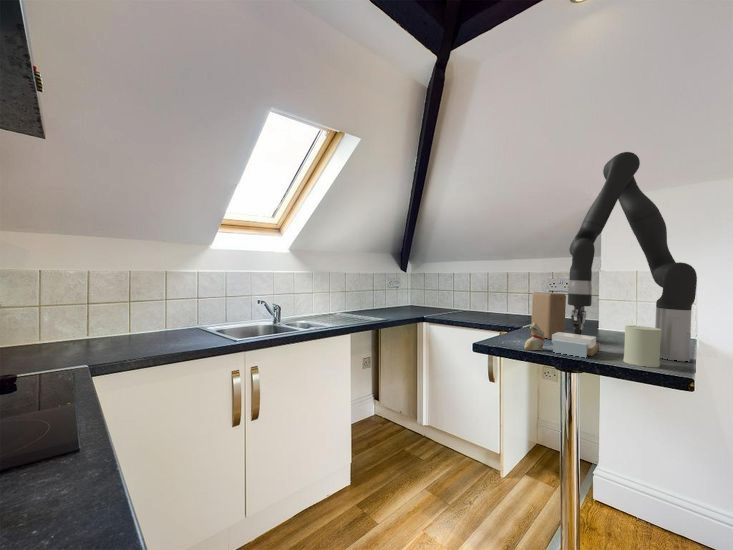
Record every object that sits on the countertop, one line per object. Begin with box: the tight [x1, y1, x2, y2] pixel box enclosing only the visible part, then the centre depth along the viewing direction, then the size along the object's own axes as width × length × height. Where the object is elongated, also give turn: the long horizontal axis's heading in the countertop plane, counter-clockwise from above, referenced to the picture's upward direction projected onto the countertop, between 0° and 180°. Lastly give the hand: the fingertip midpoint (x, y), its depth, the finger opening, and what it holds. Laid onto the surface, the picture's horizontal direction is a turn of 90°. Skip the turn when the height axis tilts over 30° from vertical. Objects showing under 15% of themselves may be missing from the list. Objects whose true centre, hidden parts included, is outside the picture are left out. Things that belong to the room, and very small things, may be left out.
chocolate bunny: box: [523, 323, 545, 351], centre depth 127 cm, size 6×8×10 cm
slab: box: [551, 332, 597, 349], centre depth 123 cm, size 12×9×3 cm
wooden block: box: [530, 291, 567, 340], centre depth 156 cm, size 10×10×20 cm
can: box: [622, 325, 661, 368], centre depth 111 cm, size 9×9×12 cm
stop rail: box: [552, 340, 588, 359], centre depth 119 cm, size 10×2×4 cm, turn 48°
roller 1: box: [587, 348, 594, 357], centre depth 123 cm, size 12×3×3 cm
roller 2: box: [596, 341, 601, 352], centre depth 132 cm, size 12×3×3 cm
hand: (577, 339), depth 129 cm, fingers closed
